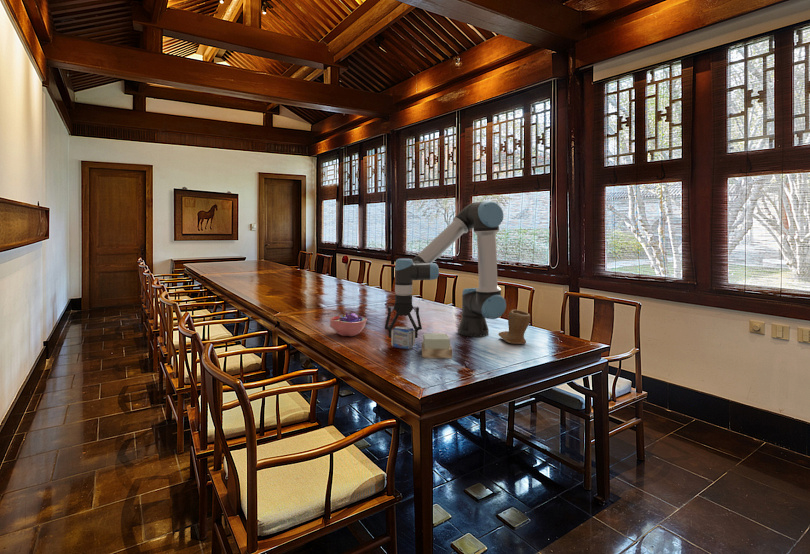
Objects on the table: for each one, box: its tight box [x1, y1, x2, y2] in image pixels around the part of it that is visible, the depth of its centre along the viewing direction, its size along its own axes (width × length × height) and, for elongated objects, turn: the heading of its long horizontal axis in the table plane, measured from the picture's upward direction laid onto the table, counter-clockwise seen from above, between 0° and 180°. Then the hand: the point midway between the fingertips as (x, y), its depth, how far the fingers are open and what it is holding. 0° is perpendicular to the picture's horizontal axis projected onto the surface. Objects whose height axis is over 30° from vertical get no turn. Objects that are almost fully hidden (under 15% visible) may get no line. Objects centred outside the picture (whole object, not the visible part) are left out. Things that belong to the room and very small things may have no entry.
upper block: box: [422, 332, 451, 349], centre depth 188 cm, size 10×10×4 cm
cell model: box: [329, 312, 368, 337], centre depth 219 cm, size 17×20×11 cm
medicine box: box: [392, 326, 414, 350], centre depth 198 cm, size 8×4×9 cm, turn 62°
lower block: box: [421, 341, 453, 359], centre depth 188 cm, size 12×12×4 cm
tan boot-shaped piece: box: [498, 309, 531, 345], centre depth 209 cm, size 15×12×15 cm
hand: (403, 345), depth 198 cm, fingers closed on medicine box, 9 cm apart
